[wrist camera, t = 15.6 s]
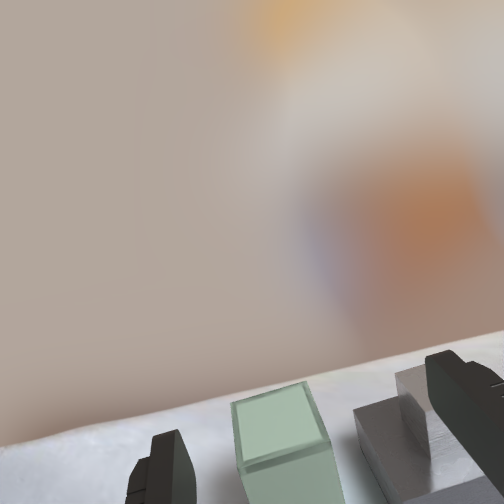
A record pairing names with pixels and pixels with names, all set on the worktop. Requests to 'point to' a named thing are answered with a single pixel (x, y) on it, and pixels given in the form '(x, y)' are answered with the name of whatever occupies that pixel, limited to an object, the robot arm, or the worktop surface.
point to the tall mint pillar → (284, 449)
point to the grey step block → (418, 450)
